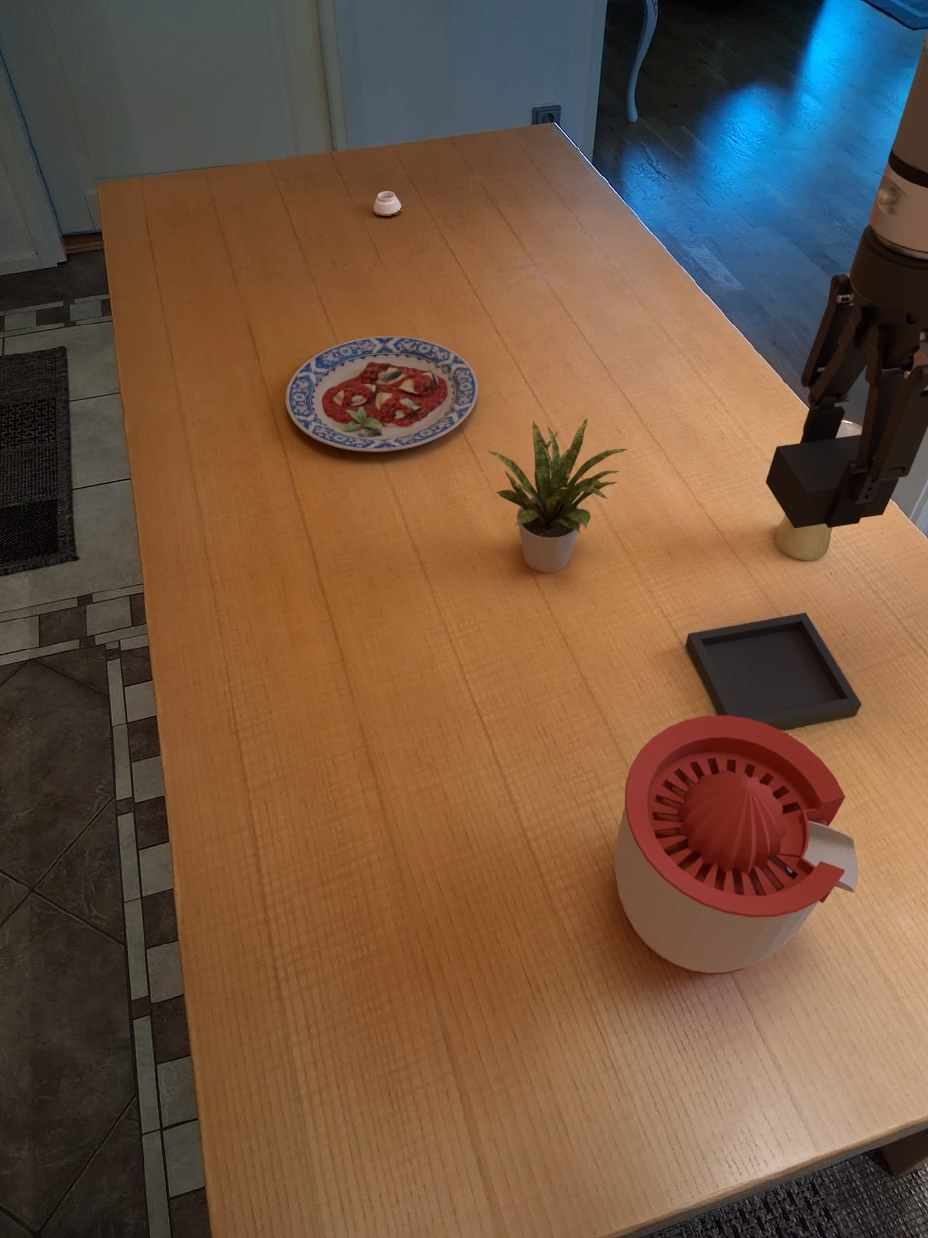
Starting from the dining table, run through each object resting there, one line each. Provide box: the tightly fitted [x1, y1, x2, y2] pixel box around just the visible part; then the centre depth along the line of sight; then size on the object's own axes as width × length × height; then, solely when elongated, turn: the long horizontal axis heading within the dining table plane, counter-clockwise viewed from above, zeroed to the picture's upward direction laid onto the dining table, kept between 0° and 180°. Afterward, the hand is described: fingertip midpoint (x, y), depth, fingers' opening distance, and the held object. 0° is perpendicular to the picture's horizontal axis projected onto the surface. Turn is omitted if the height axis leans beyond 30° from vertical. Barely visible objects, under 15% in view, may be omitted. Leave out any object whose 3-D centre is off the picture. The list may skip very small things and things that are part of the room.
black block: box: [765, 435, 900, 528], centre depth 76 cm, size 8×6×4 cm
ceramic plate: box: [285, 335, 479, 453], centre depth 121 cm, size 26×26×3 cm
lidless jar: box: [372, 190, 402, 214], centre depth 157 cm, size 5×3×5 cm
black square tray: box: [685, 612, 862, 731], centre depth 90 cm, size 13×12×2 cm
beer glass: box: [773, 419, 863, 562], centre depth 97 cm, size 7×7×15 cm
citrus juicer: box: [614, 715, 859, 975], centre depth 68 cm, size 16×17×20 cm
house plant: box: [487, 417, 629, 574], centre depth 96 cm, size 14×14×16 cm
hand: (823, 495), depth 77 cm, fingers closed on black block, 6 cm apart
